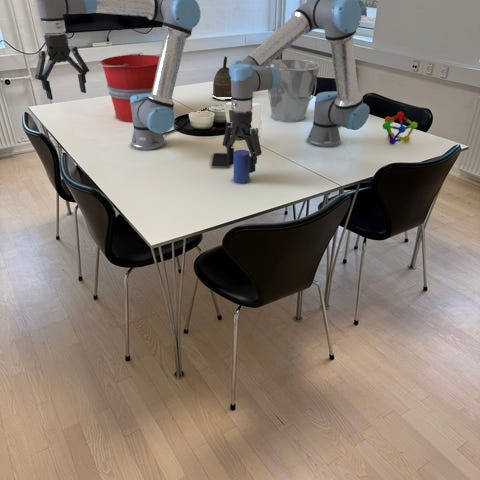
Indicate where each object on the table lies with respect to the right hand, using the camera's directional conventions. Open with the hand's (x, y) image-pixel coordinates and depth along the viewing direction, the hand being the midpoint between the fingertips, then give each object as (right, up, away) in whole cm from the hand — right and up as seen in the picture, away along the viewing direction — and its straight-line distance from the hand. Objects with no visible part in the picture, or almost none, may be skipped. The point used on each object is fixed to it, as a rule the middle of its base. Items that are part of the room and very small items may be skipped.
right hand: (241, 168), depth 171 cm
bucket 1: (-57, +42, +76) cm, 104 cm away
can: (0, -4, +3) cm, 5 cm away
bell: (-9, +63, +111) cm, 128 cm away
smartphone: (-9, +6, +19) cm, 22 cm away
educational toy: (+74, +18, +40) cm, 86 cm away
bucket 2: (+26, +40, +75) cm, 89 cm away
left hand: (-66, +27, -4) cm, 71 cm away
